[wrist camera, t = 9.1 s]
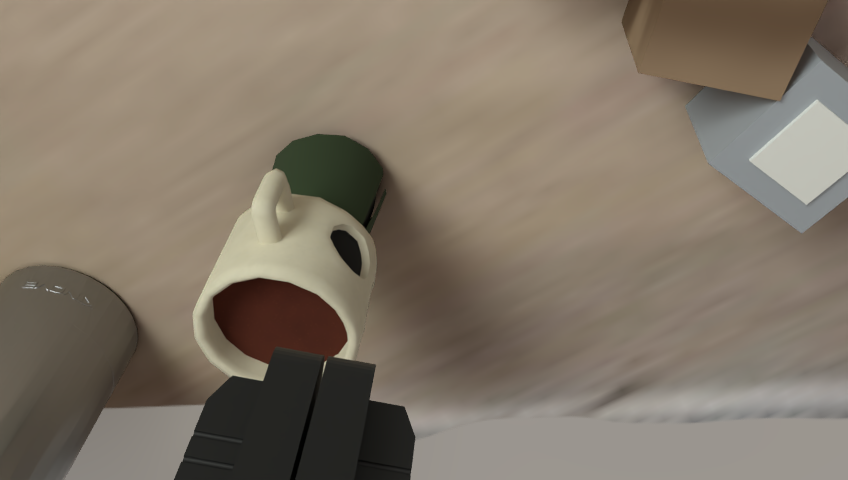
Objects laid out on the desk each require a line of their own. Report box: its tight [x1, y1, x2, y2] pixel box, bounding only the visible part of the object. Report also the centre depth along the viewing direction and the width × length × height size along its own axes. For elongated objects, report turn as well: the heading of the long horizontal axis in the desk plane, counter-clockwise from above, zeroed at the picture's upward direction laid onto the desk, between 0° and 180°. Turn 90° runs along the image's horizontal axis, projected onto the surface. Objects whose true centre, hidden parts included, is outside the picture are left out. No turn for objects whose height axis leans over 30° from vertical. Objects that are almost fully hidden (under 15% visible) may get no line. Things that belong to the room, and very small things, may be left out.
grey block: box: [685, 37, 848, 233], centre depth 37 cm, size 6×6×6 cm
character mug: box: [193, 134, 386, 381], centre depth 39 cm, size 11×7×13 cm, turn 6°
